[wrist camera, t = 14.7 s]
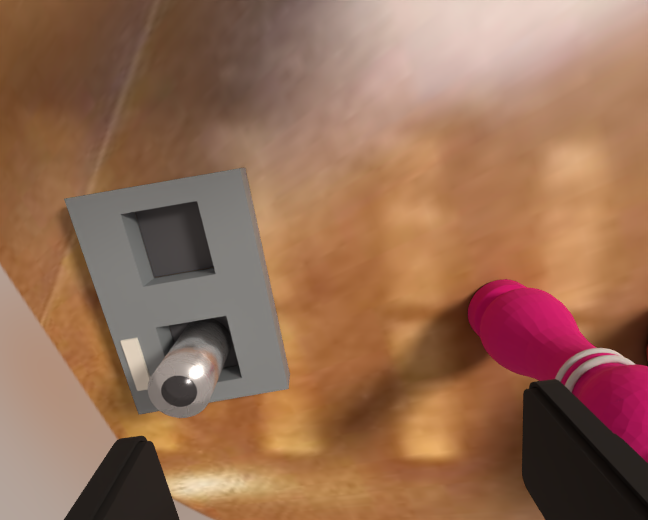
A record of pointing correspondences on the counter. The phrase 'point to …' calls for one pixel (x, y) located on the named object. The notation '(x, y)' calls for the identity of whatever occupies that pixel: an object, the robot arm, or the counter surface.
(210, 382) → the bushing
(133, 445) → the robot arm
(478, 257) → the counter surface
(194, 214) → the block
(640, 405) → the pepper mill
